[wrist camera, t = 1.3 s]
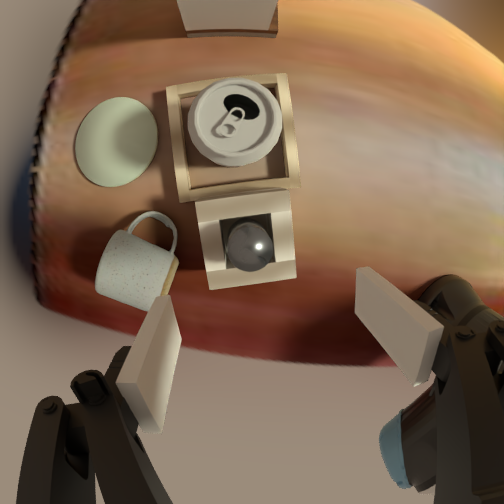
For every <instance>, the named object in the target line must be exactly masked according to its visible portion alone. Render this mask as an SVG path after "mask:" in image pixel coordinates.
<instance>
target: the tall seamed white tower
mask: <svg viewBox="0 0 504 504" xmlns="http://www.w3.org/2000/svg"><path fill="white" fill-rule="evenodd" d="M277 2H278V0H177V3H178V7H179V10H180V13H181V17H182V20H183V23H184V26H185V30H186V33H187V36H188V38H192V37H211V36H249V37H268V38H276V35H277V33H278V8H277Z"/></svg>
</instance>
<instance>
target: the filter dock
mask: <svg viewBox="0 0 504 504" xmlns="http://www.w3.org/2000/svg"><path fill="white" fill-rule="evenodd" d="M226 78H245V79H249V80H252V81H255V82H258V83H259V84H261V85H262V86H264V87H265V88H275V94H276V100H277V101H278V104H279V107H280V110H281V113H282V130H281V139H282V148H283V156H284V165H285V174H286V177H282V178H272V179H263V180H254V181H246V182H238V183H230V184H223V185H216V186H209V187H202V188H196V189H191V185H190V178H189V170H188V163H187V155H186V147H185V138H184V130H183V120H182V111H181V101H180V99H182V98H187V97H193V96H197V95H198V94H199V93H200V92H201V91H202V90H203V89H204V88H206V87H207V86H209V85H210V84H212V83H213V82H216V81H219V80H222V79H226ZM166 93H167V105H168V115H169V125H170V134H171V143H172V151H173V159H174V167H175V174H176V182H177V188H178V195H179V202H180V203H183V202H189V201H196V200H197V201H196V202H195V206H196V213H197V219H198V226H199V232H200V238H201V244H202V250H203V256H204V261H205V267H206V272H207V278H208V283H209V289H210V290H213V289H221V288H228V287H236V286H243V285H250V284H257V283H264V282H271V281H278V280H284V279H291V278H296V264H295V250H294V237H293V225H292V214H291V203H290V192H289V190H288V189H289V188H299V187H301V181H300V171H299V162H298V153H297V144H296V136H295V128H294V120H293V113H292V105H291V98H290V92H289V85H288V78H287V73H278V74H258V75H245V76H234V77H225V78H217V79H209V80H203V81H196V82H190V83H185V84H179V85H174V86H169V87H166ZM242 218H252V219H255V220H257V221H258V222H260V223H261V224H262V226H263V227H264V229H265V231H266V232H267V234H268V235H269V237H270V239H271V241H272V244H273V255H272V258H271V260H270V261H269V263H268V264H267V265H266V266H265V267H264V268H262V269H260V270H258V271H254V272H246V271H242V270H240V269H238V268H236V267H235V266H234V265H233V264H232V263H231V261H230V259H229V257H228V253H227V235H228V231H229V228H230V227H231V225H232V224H233V223H234V222H235V221H237V220H239V219H242Z"/></svg>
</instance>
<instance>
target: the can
mask: <svg viewBox="0 0 504 504" xmlns="http://www.w3.org/2000/svg"><path fill="white" fill-rule="evenodd" d="M281 130H282V113H281V110H280V107H279V104H278V101H277V100H276V99H275V97H274V96H273V95H272V93H271V92H270V91H269V90H268V89H266V88H265V87H264V86H262V85H261V84H259V83H258V82H255V81H252V80H249V79H245V78H226V79H222V80H219V81H216V82H213V83H212V84H210V85H209V86H207V87H206V88H204V89H203V90H202V91H201V92H200V93H199V94H198V95H197V97H196V98H195V99H194V100H193V102H192V105H191V108H190V110H189V113H188V131H189V134H190V137H191V140H192V142H193V144H194V145H195V146H196V148H197V149H198V150H199V152H200V153H201V154H203V155H204V156H205V157H207V158H208V159H210V160H211V161H213V162H215V163H216V164H218V165H222V166H225V167H240V166H243V165H247V164H250V163H253V162H256V161H258V160H259V159H261V158H262V157H264V156H265V155H267V154H268V153H269V152H270V151H271V150H272V148H273V147H274V146H275V144H276V143H277V142H278V139H279V136H280V133H281Z"/></svg>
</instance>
